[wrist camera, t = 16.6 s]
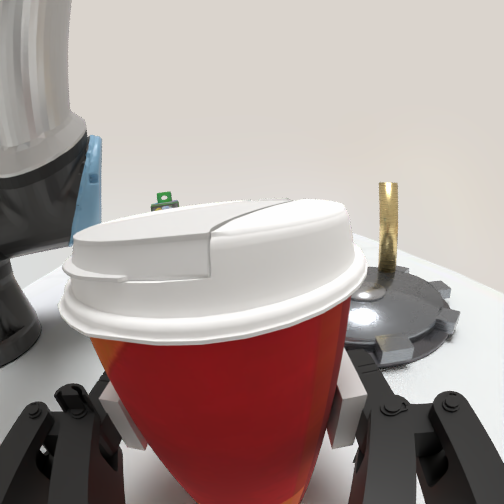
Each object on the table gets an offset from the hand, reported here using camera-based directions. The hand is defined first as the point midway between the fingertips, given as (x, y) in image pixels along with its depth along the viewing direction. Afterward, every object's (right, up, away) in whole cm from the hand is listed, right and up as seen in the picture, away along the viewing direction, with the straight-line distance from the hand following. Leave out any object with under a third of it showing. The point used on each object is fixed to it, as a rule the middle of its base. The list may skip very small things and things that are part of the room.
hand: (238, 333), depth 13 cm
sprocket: (+13, -3, +16) cm, 21 cm away
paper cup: (+1, -9, -3) cm, 9 cm away
